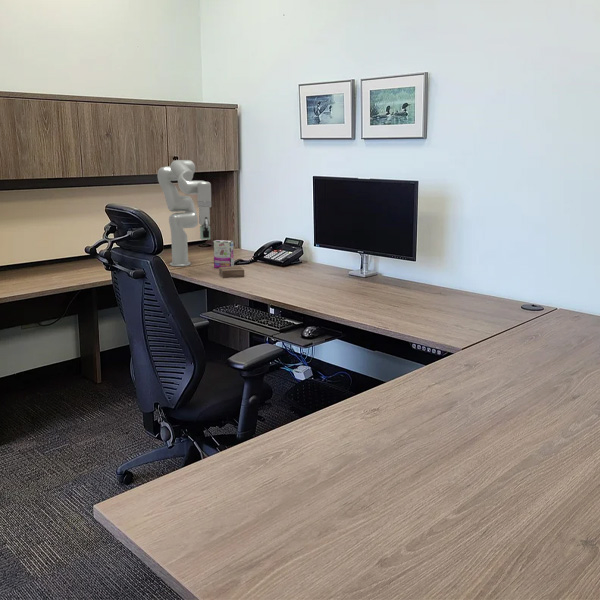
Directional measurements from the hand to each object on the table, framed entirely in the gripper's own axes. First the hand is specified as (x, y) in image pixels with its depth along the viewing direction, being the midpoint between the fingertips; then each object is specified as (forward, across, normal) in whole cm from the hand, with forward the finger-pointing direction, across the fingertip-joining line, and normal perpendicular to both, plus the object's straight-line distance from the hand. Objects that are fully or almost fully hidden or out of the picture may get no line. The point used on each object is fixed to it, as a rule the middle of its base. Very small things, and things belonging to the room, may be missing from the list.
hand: (205, 236), depth 351 cm
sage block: (+1, 0, 0) cm, 1 cm away
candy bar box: (+22, -15, +13) cm, 29 cm away
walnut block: (+21, +8, +13) cm, 26 cm away
